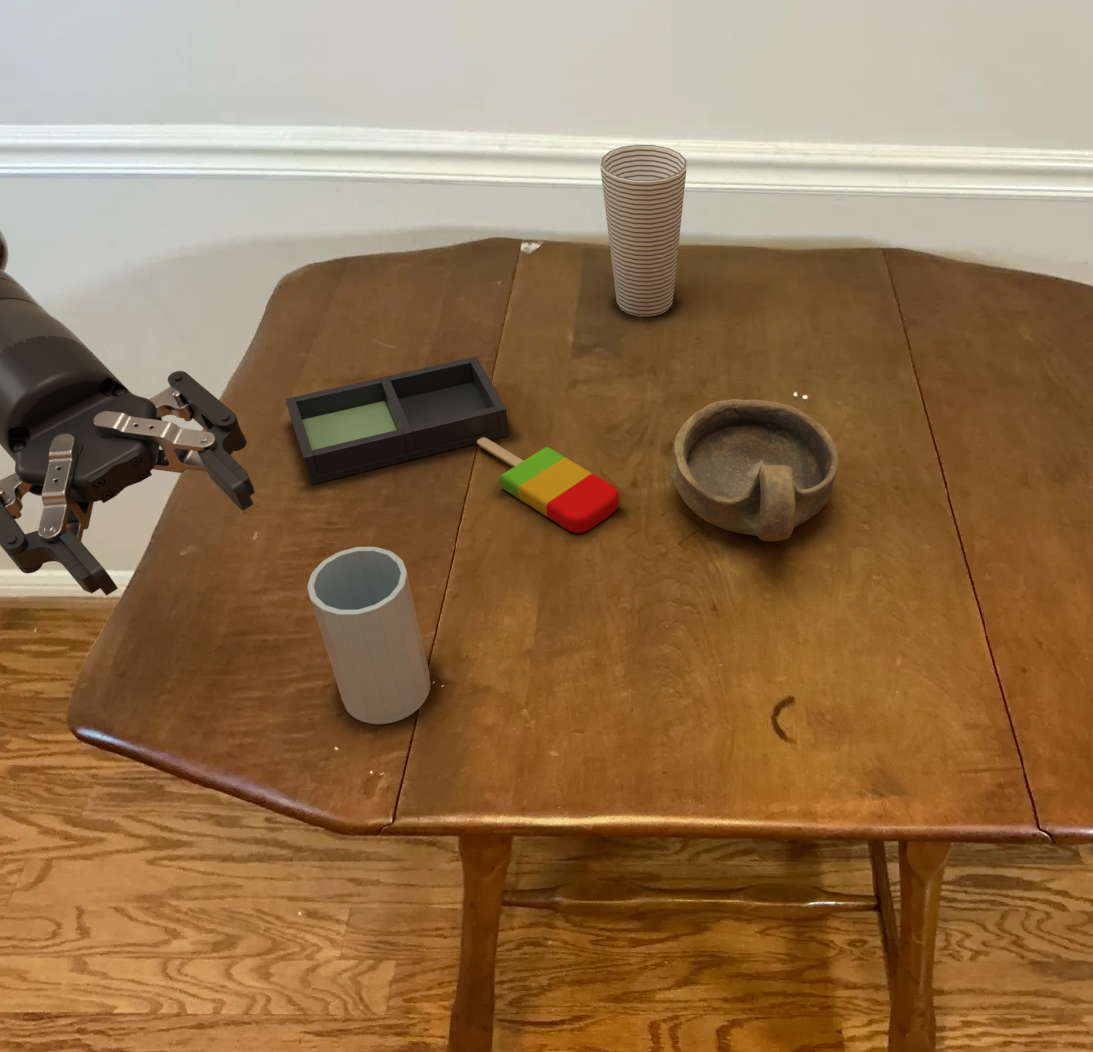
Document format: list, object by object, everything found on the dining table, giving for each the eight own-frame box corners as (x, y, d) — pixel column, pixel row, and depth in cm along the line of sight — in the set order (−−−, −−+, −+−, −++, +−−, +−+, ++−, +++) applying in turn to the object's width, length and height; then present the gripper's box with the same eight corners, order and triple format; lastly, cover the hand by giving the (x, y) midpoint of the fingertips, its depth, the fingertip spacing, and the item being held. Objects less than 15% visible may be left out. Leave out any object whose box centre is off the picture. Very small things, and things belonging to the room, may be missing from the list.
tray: (311, 485, 91) (303, 457, 89) (292, 425, 97) (285, 398, 95) (509, 436, 97) (506, 408, 95) (480, 382, 103) (476, 356, 101)
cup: (616, 278, 118) (612, 140, 108) (691, 288, 117) (695, 149, 106) (595, 318, 112) (589, 175, 101) (675, 328, 111) (677, 185, 100)
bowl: (816, 448, 97) (828, 354, 90) (855, 587, 84) (872, 490, 77) (664, 453, 95) (665, 359, 89) (679, 595, 83) (681, 497, 76)
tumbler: (352, 736, 72) (317, 625, 65) (334, 673, 76) (299, 561, 69) (440, 707, 74) (416, 596, 67) (418, 647, 78) (393, 536, 71)
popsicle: (579, 540, 87) (578, 523, 86) (456, 462, 94) (454, 445, 92) (625, 506, 90) (625, 489, 89) (503, 433, 97) (501, 417, 96)
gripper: (-116, 403, 60) (26, 577, 54) (121, 287, 67) (271, 432, 61) (-50, 484, 66) (85, 649, 61) (162, 371, 73) (302, 510, 67)
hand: (178, 540), depth 61 cm, fingers open, 8 cm apart
